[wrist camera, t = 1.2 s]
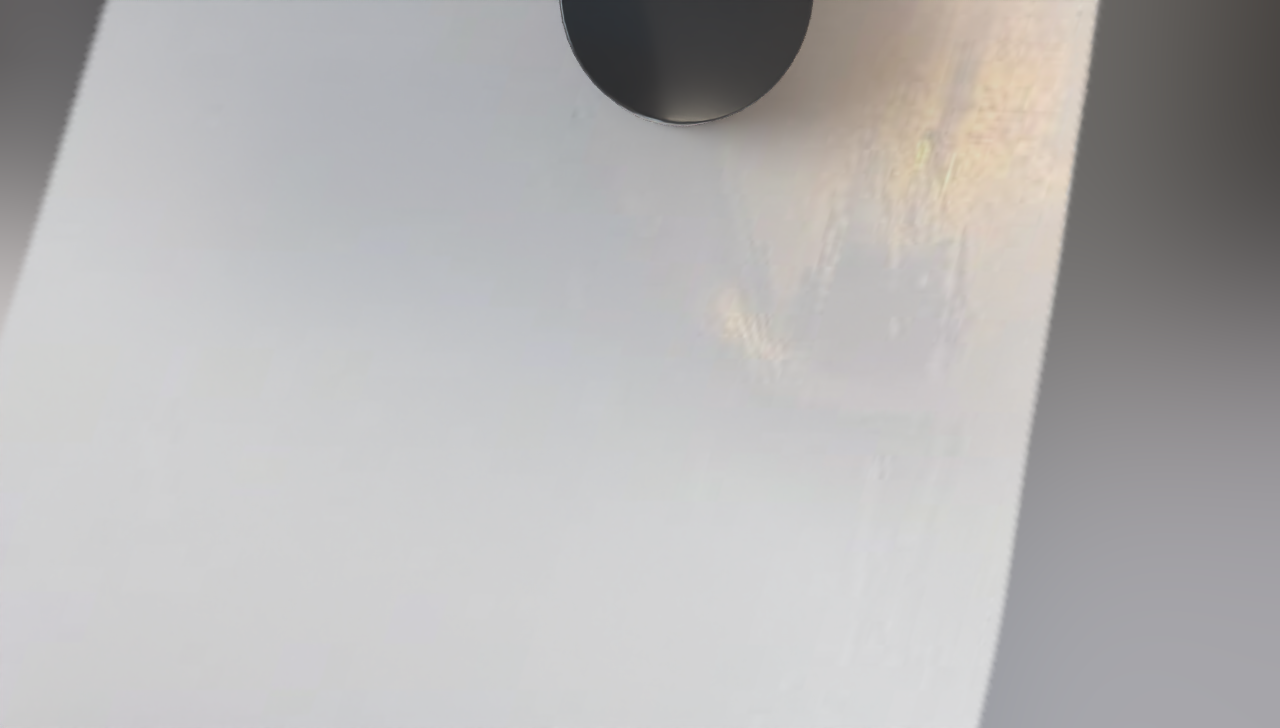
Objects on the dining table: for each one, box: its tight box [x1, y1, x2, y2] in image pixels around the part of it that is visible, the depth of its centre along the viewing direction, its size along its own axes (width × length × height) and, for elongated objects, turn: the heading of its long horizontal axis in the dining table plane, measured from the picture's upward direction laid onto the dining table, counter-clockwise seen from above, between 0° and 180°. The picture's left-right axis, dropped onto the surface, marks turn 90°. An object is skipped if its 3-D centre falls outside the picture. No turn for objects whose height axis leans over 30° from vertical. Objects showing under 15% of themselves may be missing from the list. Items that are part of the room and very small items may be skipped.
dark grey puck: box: [559, 0, 813, 126], centre depth 21 cm, size 5×5×4 cm
